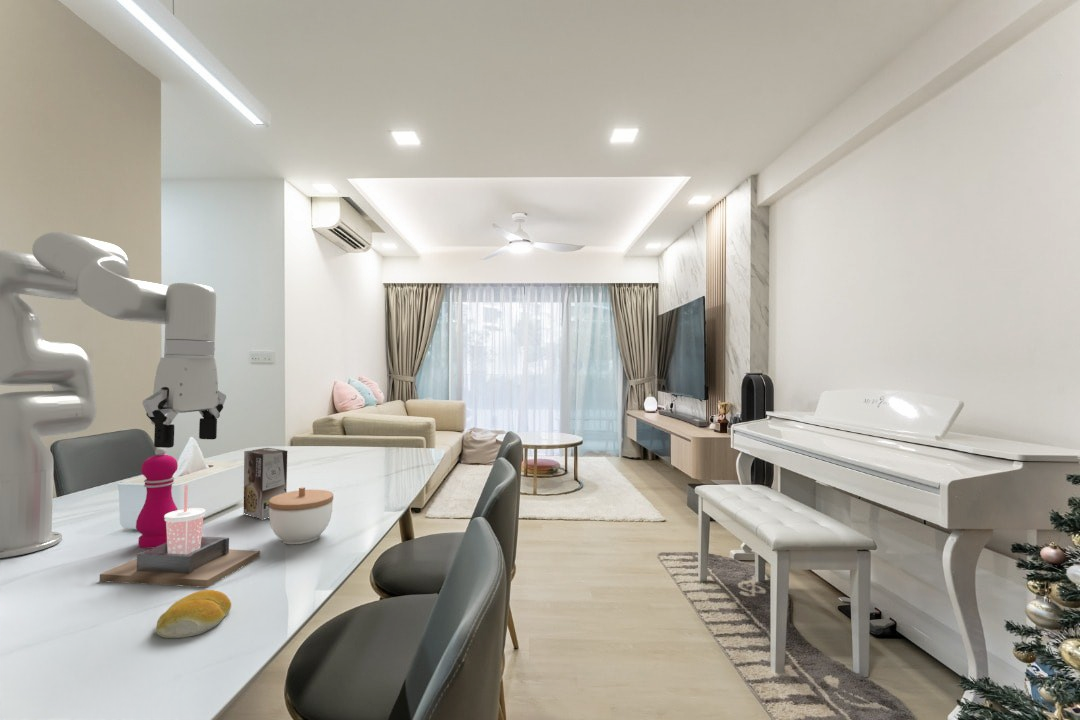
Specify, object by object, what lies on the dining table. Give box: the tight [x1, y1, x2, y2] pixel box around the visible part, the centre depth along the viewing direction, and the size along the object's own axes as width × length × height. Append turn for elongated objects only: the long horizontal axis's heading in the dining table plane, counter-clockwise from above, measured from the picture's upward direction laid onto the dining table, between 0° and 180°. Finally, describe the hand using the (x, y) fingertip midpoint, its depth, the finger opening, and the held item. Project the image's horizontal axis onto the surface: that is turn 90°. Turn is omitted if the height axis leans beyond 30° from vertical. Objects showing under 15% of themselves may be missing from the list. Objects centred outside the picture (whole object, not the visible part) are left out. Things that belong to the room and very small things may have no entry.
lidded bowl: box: [268, 486, 334, 546], centre depth 103 cm, size 13×13×11 cm
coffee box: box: [243, 447, 288, 520], centre depth 120 cm, size 9×6×16 cm
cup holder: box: [98, 536, 261, 588], centre depth 87 cm, size 20×13×4 cm, turn 85°
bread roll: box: [155, 589, 232, 639], centre depth 69 cm, size 8×9×4 cm
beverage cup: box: [164, 484, 206, 554], centre depth 88 cm, size 6×6×14 cm
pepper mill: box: [135, 447, 179, 549], centre depth 100 cm, size 7×7×20 cm
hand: (187, 442), depth 88 cm, fingers open, 9 cm apart
